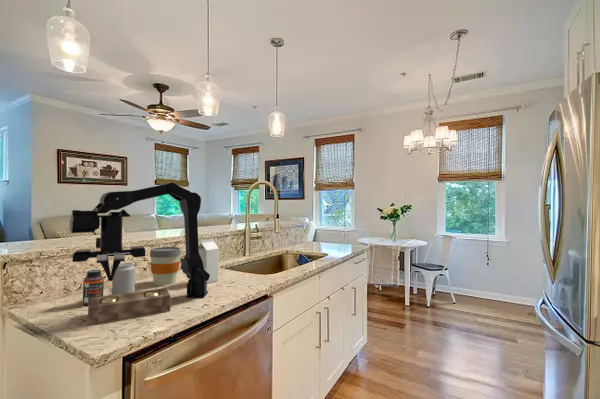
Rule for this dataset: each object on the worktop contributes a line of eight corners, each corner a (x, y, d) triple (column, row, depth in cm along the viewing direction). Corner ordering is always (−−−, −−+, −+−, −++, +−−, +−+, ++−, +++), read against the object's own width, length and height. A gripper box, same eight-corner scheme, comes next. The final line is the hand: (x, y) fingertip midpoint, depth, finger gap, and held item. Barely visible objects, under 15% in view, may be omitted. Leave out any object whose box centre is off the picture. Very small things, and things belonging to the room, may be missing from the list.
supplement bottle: (87, 306, 97) (87, 273, 97) (79, 303, 100) (80, 271, 100) (106, 301, 102) (107, 270, 102) (98, 298, 105) (99, 268, 105)
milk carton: (218, 280, 131) (219, 239, 132) (205, 284, 125) (206, 241, 126) (208, 278, 135) (208, 238, 135) (195, 281, 129) (196, 239, 130)
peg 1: (116, 312, 92) (116, 296, 92) (116, 316, 89) (116, 300, 89) (101, 314, 90) (101, 298, 90) (100, 318, 87) (101, 302, 87)
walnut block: (166, 301, 103) (166, 287, 103) (170, 310, 94) (170, 295, 94) (90, 313, 91) (90, 297, 91) (87, 325, 83) (88, 307, 83)
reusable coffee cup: (165, 277, 136) (166, 246, 136) (186, 280, 131) (186, 247, 131) (142, 284, 124) (143, 249, 124) (164, 287, 119) (165, 252, 120)
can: (123, 299, 105) (124, 266, 105) (106, 297, 106) (107, 265, 106) (139, 293, 112) (139, 262, 112) (122, 291, 114) (123, 261, 114)
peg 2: (157, 305, 99) (158, 290, 99) (159, 309, 95) (159, 294, 95) (144, 307, 97) (144, 292, 97) (145, 311, 93) (145, 296, 93)
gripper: (143, 228, 102) (142, 272, 102) (77, 230, 92) (76, 278, 92) (145, 231, 93) (144, 279, 92) (72, 233, 83) (71, 287, 82)
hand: (110, 280), depth 90 cm, fingers closed
